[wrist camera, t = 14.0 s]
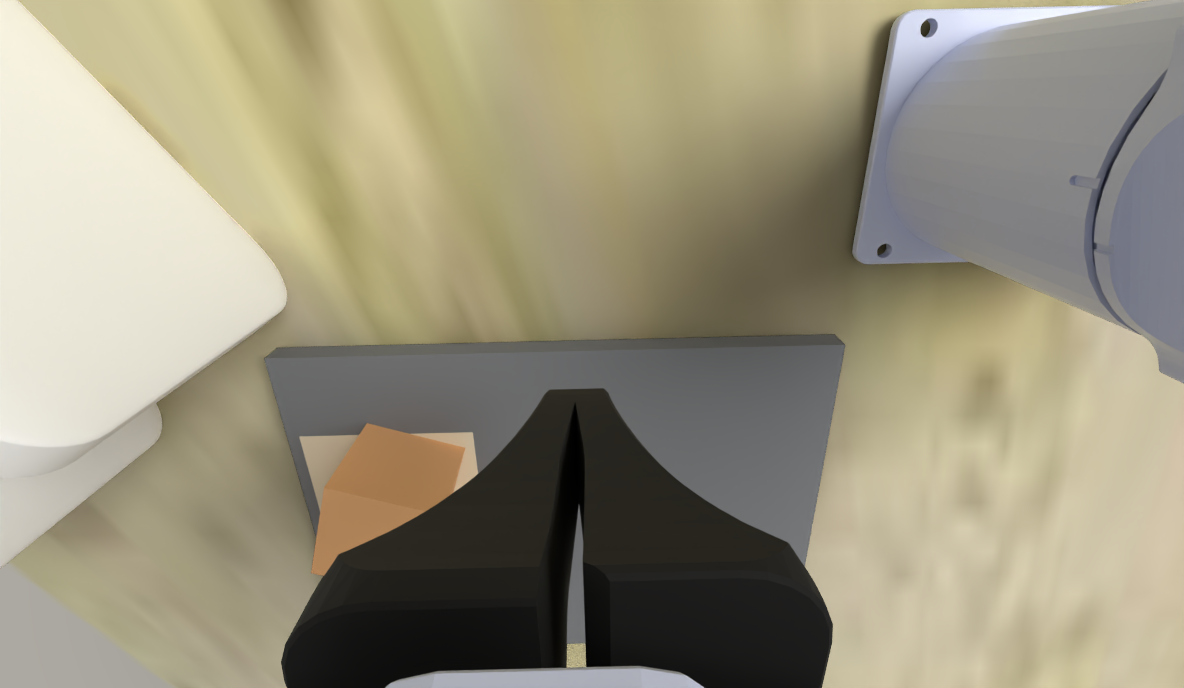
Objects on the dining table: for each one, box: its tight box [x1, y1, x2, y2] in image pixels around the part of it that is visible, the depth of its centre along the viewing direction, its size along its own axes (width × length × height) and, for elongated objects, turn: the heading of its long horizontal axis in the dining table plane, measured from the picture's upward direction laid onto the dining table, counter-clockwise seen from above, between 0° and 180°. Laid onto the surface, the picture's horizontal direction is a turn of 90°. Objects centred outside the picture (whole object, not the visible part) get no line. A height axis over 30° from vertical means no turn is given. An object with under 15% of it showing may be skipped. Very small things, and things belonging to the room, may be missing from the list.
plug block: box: [311, 423, 465, 576], centre depth 21 cm, size 4×4×4 cm
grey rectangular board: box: [264, 334, 845, 644], centre depth 25 cm, size 22×16×1 cm
